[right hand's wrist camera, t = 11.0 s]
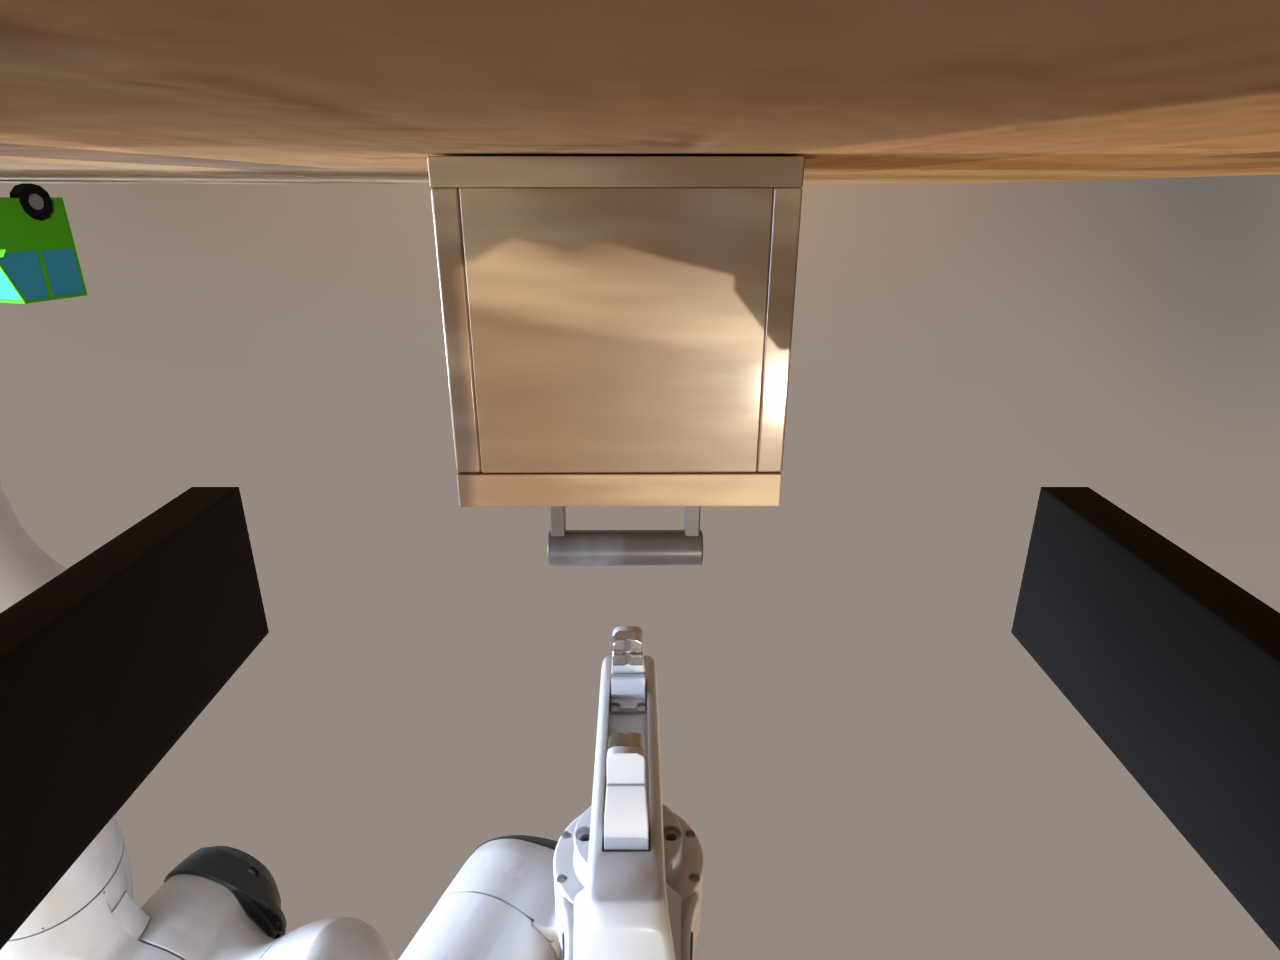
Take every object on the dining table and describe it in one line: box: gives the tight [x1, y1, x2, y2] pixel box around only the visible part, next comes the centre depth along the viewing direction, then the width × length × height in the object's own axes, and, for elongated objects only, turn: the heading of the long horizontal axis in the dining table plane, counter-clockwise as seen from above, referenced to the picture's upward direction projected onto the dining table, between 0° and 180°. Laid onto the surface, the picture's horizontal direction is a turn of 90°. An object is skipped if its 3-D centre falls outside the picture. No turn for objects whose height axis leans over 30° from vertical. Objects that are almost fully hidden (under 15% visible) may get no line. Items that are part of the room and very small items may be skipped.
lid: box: [457, 470, 782, 565], centre depth 32 cm, size 14×10×9 cm
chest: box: [427, 156, 805, 473], centre depth 28 cm, size 13×10×9 cm
